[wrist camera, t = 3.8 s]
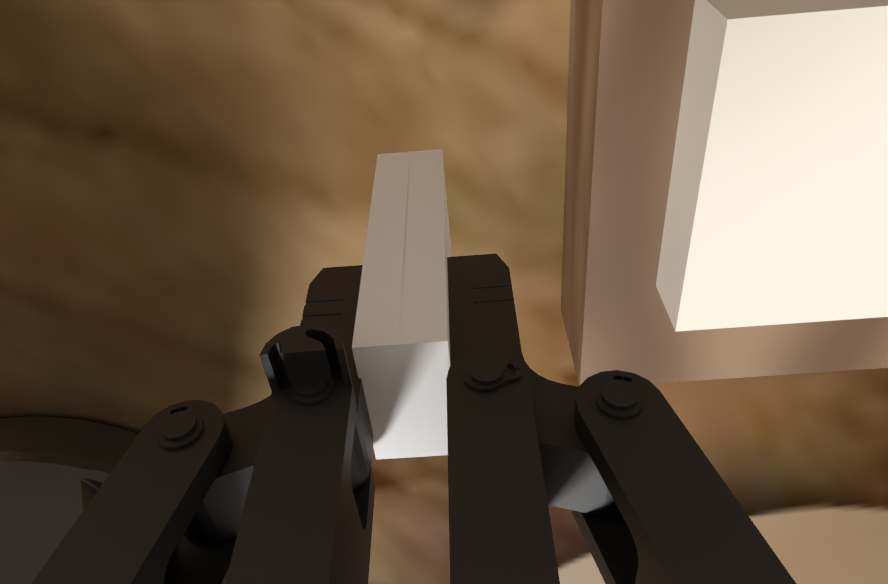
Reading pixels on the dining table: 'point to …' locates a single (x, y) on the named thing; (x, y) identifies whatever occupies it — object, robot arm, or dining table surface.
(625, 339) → the riser board
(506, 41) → the dining table surface
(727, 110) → the ceramic tile
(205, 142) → the dining table surface
